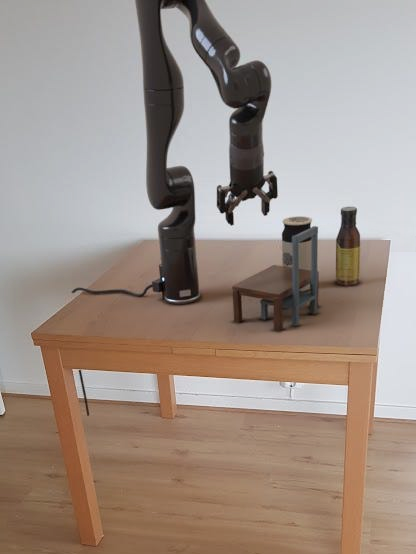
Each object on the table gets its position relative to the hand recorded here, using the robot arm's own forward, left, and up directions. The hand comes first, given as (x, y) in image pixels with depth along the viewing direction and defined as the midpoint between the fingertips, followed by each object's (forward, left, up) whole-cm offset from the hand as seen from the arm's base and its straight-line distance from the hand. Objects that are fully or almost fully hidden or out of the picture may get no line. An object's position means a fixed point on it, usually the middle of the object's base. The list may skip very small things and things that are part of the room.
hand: (247, 218), depth 162 cm
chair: (+12, -2, -22) cm, 25 cm away
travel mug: (+3, +17, -22) cm, 28 cm away
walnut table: (+9, -2, -22) cm, 24 cm away
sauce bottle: (+13, +26, -22) cm, 37 cm away
